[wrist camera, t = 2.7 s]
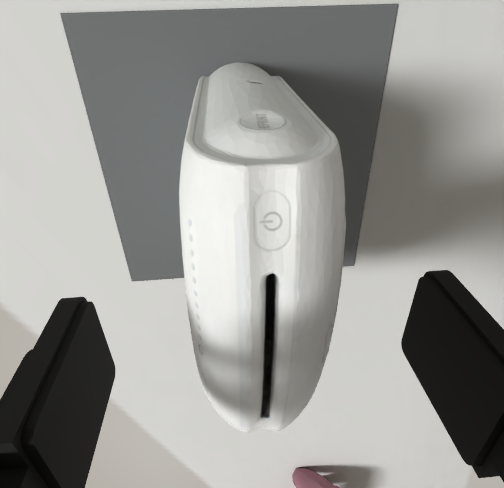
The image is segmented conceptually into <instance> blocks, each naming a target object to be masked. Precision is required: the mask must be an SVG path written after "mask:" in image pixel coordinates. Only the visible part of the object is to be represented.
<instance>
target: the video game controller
mask: <svg viewBox="0 0 504 488" xmlns="http://www.w3.org/2000/svg"><path fill="white" fill-rule="evenodd" d="M292 477H293V482H294V485H295V486H296V488H339V487H338V486H334V485H333V484H332V483H331V482H329V481H328V480H327V479H325V478H324V477H323V476H321V475H319V474H318V473H316V472H314V471H312V470H309V469H306V468H297V469H296V470H295V471H294V473H293V476H292Z"/></svg>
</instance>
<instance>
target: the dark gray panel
mask: <svg viewBox="0 0 504 488" xmlns="http://www.w3.org/2000/svg"><path fill="white" fill-rule="evenodd" d="M397 7H398V4H371V5H336V6H300V7H264V8H229V9H193V10H158V11H122V12H86V13H60V14H61V18H62V21H63V25H64V29H65V33H66V36H67V40H68V44H69V48H70V51H71V55H72V59H73V63H74V66H75V70H76V74H77V78H78V81H79V85H80V89H81V93H82V96H83V100H84V104H85V107H86V111H87V115H88V119H89V122H90V126H91V130H92V134H93V137H94V141H95V145H96V149H97V152H98V156H99V160H100V164H101V167H102V171H103V175H104V178H105V182H106V186H107V190H108V193H109V197H110V201H111V205H112V208H113V212H114V216H115V220H116V223H117V227H118V231H119V235H120V238H121V242H122V246H123V250H124V253H125V257H126V261H127V264H128V268H129V272H130V276H131V279H132V281H144V280H158V279H172V278H184V267H183V257H182V242H181V228H180V206H179V184H180V170H181V159H182V153H183V147H184V141H185V136H186V132H187V127H188V122H189V118H190V113H191V109H192V105H193V101H194V97H195V92H196V88H197V85H198V81H199V79H200V78H201V77H202V76H207V77H208V76H210V75H211V74H212V73H213V72H214V71H216V70H217V69H219V68H220V67H222V66H224V65H227V64H231V63H237V62H239V63H249V64H253V65H255V66H257V67H259V68H261V69H263V70H264V71H265V72H267V73H268V74H269V75H270V76H280V77H281V78H283V80H284V81H285V82H286V83H287V84H288V85H289V86H290V87H291V89H292V90H293V91H294V92H295V93H296V94H297V95H298V96H299V97H300V98H301V100H302V101H303V102H304V103H305V104H306V105H307V106H308V107H309V108H310V109H311V110H312V111H313V112H314V113H315V114H316V115H317V117H318V118H319V119H320V120H321V121H322V122H323V123H324V124H325V125H326V126H327V127H328V128H329V129H330V130H331V131H332V132H333V133H334V134H335V136H336V138H337V140H338V143H339V147H340V153H341V159H342V166H343V175H344V189H345V216H346V231H345V245H344V257H343V266H354V262H355V256H356V250H357V244H358V238H359V232H360V226H361V220H362V214H363V208H364V202H365V196H366V190H367V185H368V179H369V173H370V167H371V161H372V155H373V149H374V143H375V137H376V131H377V125H378V119H379V113H380V107H381V102H382V96H383V90H384V84H385V78H386V72H387V66H388V60H389V54H390V48H391V42H392V36H393V30H394V24H395V18H396V13H397Z"/></svg>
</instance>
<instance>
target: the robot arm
mask: <svg viewBox="0 0 504 488" xmlns="http://www.w3.org/2000/svg"><path fill="white" fill-rule="evenodd" d="M401 344H402V350H403V352H404V354H405V356H406V358H407V360H408V362H409V363H410V365H411V367H412V369H413V371H414V372H415V374H416V376H417V378H418V380H419V381H420V383H421V385H422V387H423V389H424V390H425V392H426V394H427V396H428V398H429V399H430V401H431V403H432V405H433V407H434V408H435V410H436V412H437V414H438V416H439V417H440V419H441V421H442V423H443V425H444V426H445V428H446V430H447V432H448V434H449V435H450V437H451V439H452V441H453V443H454V444H455V446H456V448H457V450H458V452H459V453H460V455H461V457H462V459H463V460H464V462H465V463H466V464H468V465H472V467H473V469H474V470H475V472H476V474H477V475H478V477H479V478H485V477H493V476H500V477H501V478H502V480H503V482H504V329H503V328H502V327H501V326H500V325H499V324H498V323H497V322H496V321H495V320H494V318H493V317H492V316H491V315H490V314H489V313H488V312H487V311H486V310H485V309H484V308H483V306H482V305H481V304H480V303H479V302H478V301H477V300H476V299H475V298H474V297H473V295H472V294H471V293H470V292H469V291H468V290H467V289H466V288H465V287H464V286H463V284H462V283H461V282H460V281H459V280H458V279H457V278H456V277H455V276H454V275H453V273H451V272H450V271H448V270H441V271H429V272H426V273H425V275H424V277H421V278H420V279H419V281H418V284H417V288H416V291H415V295H414V299H413V302H412V306H411V309H410V313H409V316H408V320H407V323H406V327H405V330H404V334H403V337H402V342H401ZM114 378H115V365H114V362H113V359H112V356H111V353H110V350H109V347H108V344H107V341H106V338H105V336H104V333H103V330H102V327H101V324H100V321H99V318H98V315H97V312H96V309H95V307H94V304H93V303H92V302H87V300H86V299H85V298H84V297H75V298H62V299H61V300H60V301H59V302H58V304H57V306H56V307H55V309H54V311H53V313H52V315H51V317H50V319H49V320H48V322H47V324H46V326H45V328H44V330H43V332H42V333H41V335H40V337H39V339H38V341H37V343H36V345H35V346H34V349H33V350H30V351H29V352H28V353H27V354H26V355H25V357H24V358H23V360H22V362H21V363H20V365H19V367H18V369H17V371H16V373H15V374H14V376H13V378H12V380H11V381H10V383H9V385H8V387H7V389H6V390H5V392H4V394H3V396H2V398H1V399H0V488H85V484H86V480H87V477H88V473H89V470H90V466H91V462H92V459H93V455H94V451H95V448H96V444H97V441H98V436H99V433H100V430H101V426H102V422H103V418H104V415H105V411H106V407H107V404H108V400H109V397H110V393H111V389H112V386H113V382H114Z"/></svg>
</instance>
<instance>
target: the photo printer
mask: <svg viewBox="0 0 504 488" xmlns="http://www.w3.org/2000/svg"><path fill="white" fill-rule="evenodd" d="M179 206H180V228H181V242H182V257H183V267H184V278H185V289H186V297H187V305H188V313H189V321H190V327H191V335H192V341H193V347H194V352H195V357H196V362H197V367H198V371H199V376H200V379H201V382H202V385H203V388H204V391H205V393H206V395H207V397H208V399H209V401H210V402H211V404H212V405H213V407H214V408H215V410H216V411H217V412H218V413H219V415H220V416H221V417H222V418H223V419H224V420H225V421H226V422H227V423H229V424H230V425H231V426H233V427H234V428H236V429H238V430H240V431H242V432H245V433H248V432H251V431H254V430H256V429H271V430H276V431H280V430H282V429H284V428H285V427H287V426H288V425H289V424H290V423H291V422H292V421H293V420H295V419H296V418H297V417H298V416H299V414H300V413H301V412H302V410H303V409H304V408H305V407H306V405H307V404H308V402H309V400H310V399H311V397H312V395H313V393H314V391H315V388H316V386H317V384H318V381H319V378H320V376H321V372H322V369H323V366H324V363H325V360H326V356H327V354H328V351H329V345H330V341H331V336H332V332H333V327H334V322H335V317H336V312H337V305H338V298H339V291H340V284H341V275H342V267H343V257H344V245H345V231H346V216H345V189H344V175H343V166H342V159H341V153H340V147H339V143H338V140H337V138H336V136H335V134H334V133H333V132H332V131H331V130H330V129H329V128H328V127H327V126H326V125H325V124H324V123H323V122H322V121H321V120H320V119H319V118H318V117H317V115H316V114H315V113H314V112H313V111H312V110H311V109H310V108H309V107H308V106H307V105H306V104H305V103H304V102H303V101H302V100H301V98H300V97H299V96H298V95H297V94H296V93H295V92H294V91H293V90H292V89H291V87H290V86H289V85H288V84H287V83H286V82H285V81H284V80H283V78H281V77H280V76H270V75H269V74H268V73H267V72H265V71H264V70H263V69H261V68H259V67H257V66H255V65H253V64H249V63H239V62H237V63H231V64H227V65H224V66H222V67H220V68H219V69H217V70H216V71H214V72H213V73H212V74H211V75H210V76H208V77H207V76H202V77H201V78H200V79H199V81H198V85H197V88H196V92H195V97H194V101H193V105H192V109H191V113H190V118H189V122H188V127H187V132H186V136H185V141H184V147H183V153H182V159H181V170H180V184H179Z"/></svg>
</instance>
